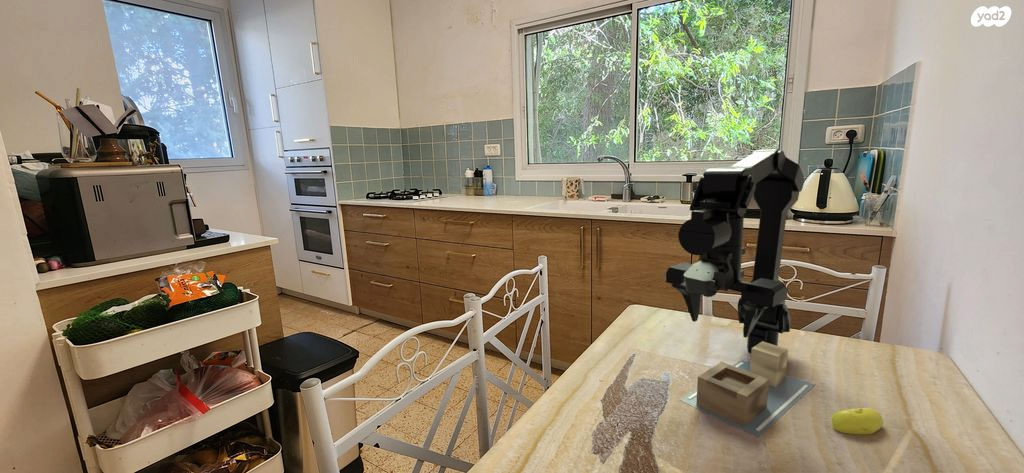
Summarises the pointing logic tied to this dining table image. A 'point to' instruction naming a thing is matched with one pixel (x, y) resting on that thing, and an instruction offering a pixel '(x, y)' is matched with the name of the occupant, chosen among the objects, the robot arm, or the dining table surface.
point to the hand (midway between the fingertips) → (719, 328)
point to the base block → (732, 393)
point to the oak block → (769, 362)
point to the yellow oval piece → (857, 421)
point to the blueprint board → (777, 402)
